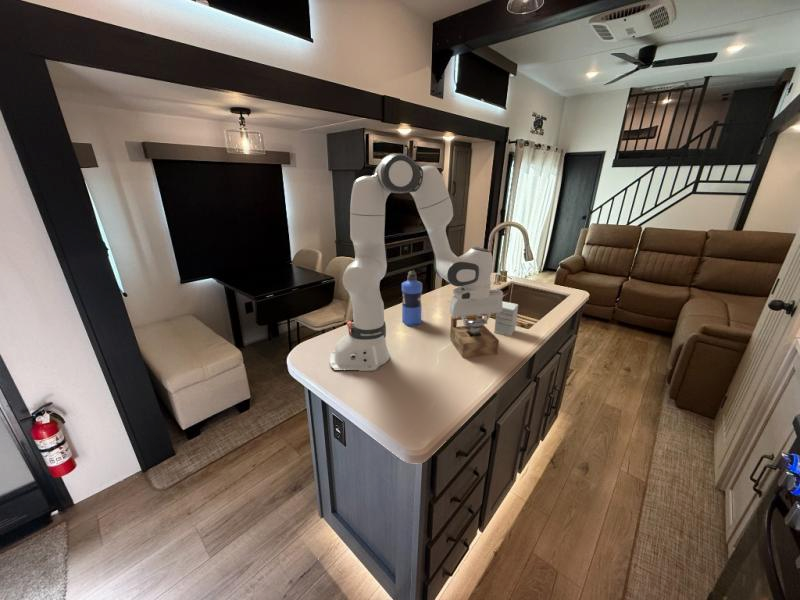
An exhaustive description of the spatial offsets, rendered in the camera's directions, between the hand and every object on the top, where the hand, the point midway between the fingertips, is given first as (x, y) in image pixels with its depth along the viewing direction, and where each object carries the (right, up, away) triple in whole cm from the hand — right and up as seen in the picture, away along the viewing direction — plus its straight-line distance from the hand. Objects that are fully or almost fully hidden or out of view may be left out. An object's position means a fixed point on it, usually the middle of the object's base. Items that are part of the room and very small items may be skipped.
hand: (475, 324), depth 120 cm
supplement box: (+17, -5, +16) cm, 24 cm away
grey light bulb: (0, -5, +2) cm, 5 cm away
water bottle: (-24, -1, +26) cm, 35 cm away
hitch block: (0, -9, +5) cm, 10 cm away
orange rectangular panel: (-1, +6, +5) cm, 8 cm away
